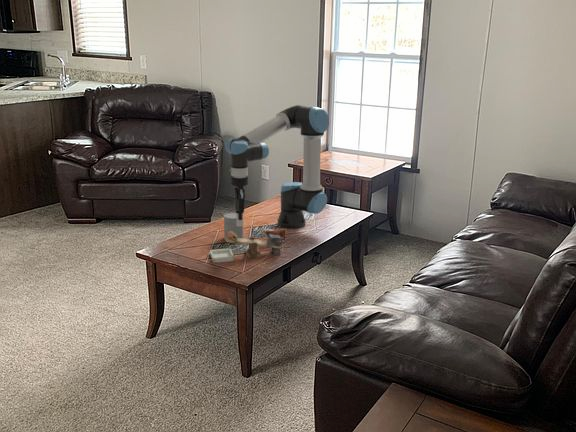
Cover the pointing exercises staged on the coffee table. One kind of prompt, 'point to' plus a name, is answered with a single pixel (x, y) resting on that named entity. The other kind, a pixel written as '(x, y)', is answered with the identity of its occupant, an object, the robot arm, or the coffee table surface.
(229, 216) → the grey metal can
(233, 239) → the lever
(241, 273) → the coffee table surface
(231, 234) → the ball
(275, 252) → the block
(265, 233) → the bull figurine
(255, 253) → the fulcrum
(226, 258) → the dish
